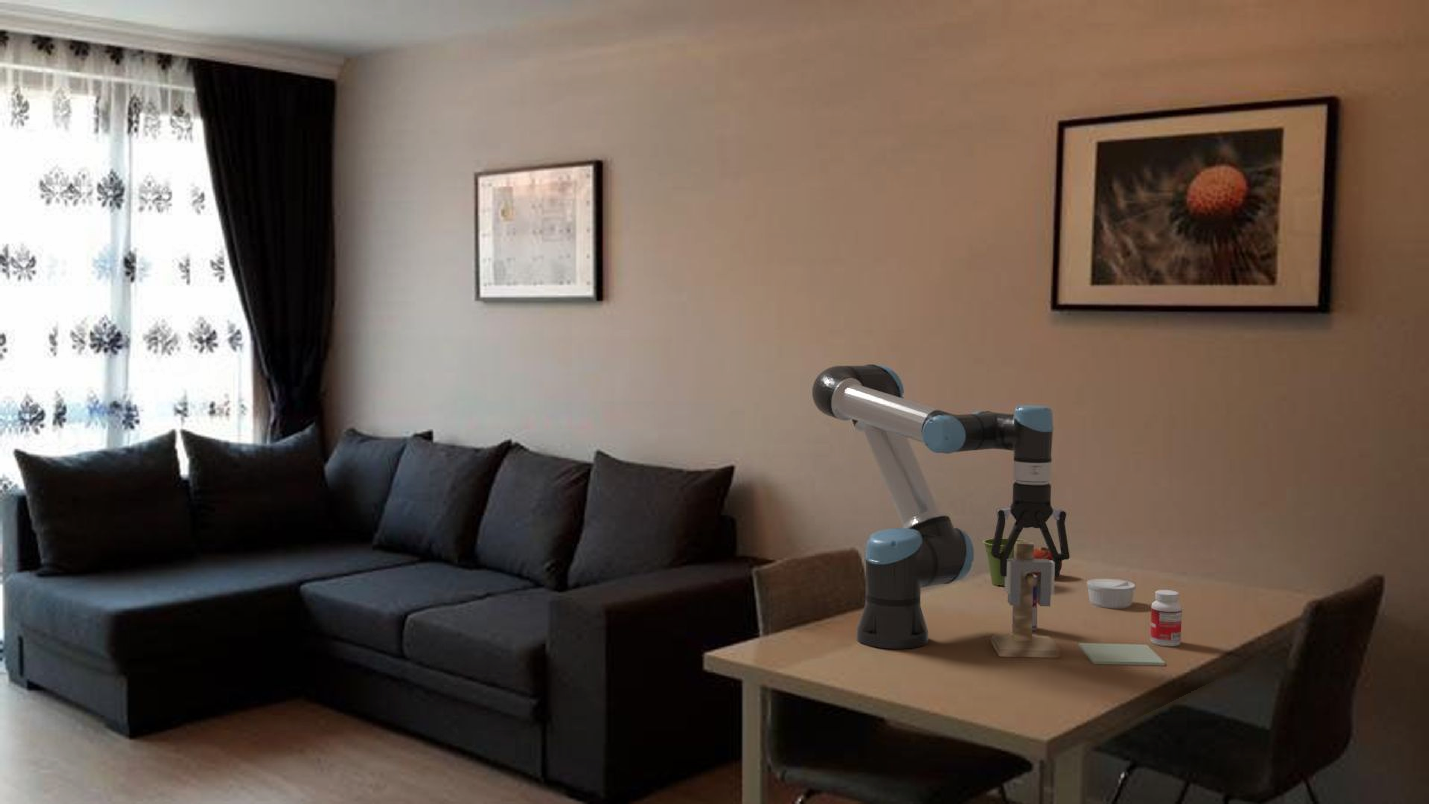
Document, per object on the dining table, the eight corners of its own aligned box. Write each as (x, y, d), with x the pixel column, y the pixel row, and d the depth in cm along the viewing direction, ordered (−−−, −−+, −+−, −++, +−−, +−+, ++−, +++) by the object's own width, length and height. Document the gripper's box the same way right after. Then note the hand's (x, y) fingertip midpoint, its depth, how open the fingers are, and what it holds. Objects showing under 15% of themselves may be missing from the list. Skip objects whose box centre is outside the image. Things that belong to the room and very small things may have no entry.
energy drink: (1037, 632, 280) (1038, 578, 280) (1012, 631, 282) (1013, 577, 281) (1036, 626, 286) (1037, 573, 285) (1011, 625, 287) (1012, 572, 286)
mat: (1093, 663, 255) (1093, 660, 255) (1078, 645, 269) (1078, 643, 269) (1164, 665, 254) (1165, 662, 254) (1146, 647, 268) (1146, 644, 268)
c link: (1010, 605, 259) (1011, 561, 258) (1007, 601, 262) (1008, 558, 262) (1050, 606, 258) (1051, 562, 258) (1047, 602, 262) (1048, 559, 261)
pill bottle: (1151, 638, 276) (1153, 588, 275) (1181, 641, 273) (1183, 590, 272) (1149, 645, 270) (1150, 593, 269) (1179, 648, 268) (1181, 596, 267)
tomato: (1040, 572, 348) (1041, 543, 347) (1069, 577, 341) (1070, 547, 340) (1019, 576, 342) (1020, 546, 341) (1048, 581, 335) (1049, 551, 334)
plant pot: (1001, 577, 340) (1001, 536, 339) (1038, 585, 330) (1039, 542, 330) (972, 583, 332) (973, 540, 331) (1009, 591, 323) (1010, 547, 322)
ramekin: (1138, 610, 302) (1139, 588, 302) (1089, 609, 304) (1090, 587, 304) (1130, 600, 313) (1131, 579, 313) (1083, 598, 315) (1084, 577, 315)
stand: (1001, 660, 258) (1003, 552, 256) (991, 641, 272) (992, 539, 271) (1061, 661, 257) (1064, 553, 255) (1048, 642, 271) (1050, 540, 270)
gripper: (982, 483, 255) (979, 595, 257) (1088, 485, 254) (1085, 598, 256) (977, 478, 263) (974, 587, 265) (1080, 480, 261) (1077, 589, 263)
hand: (1029, 592), depth 260 cm, fingers closed on c link, 8 cm apart
